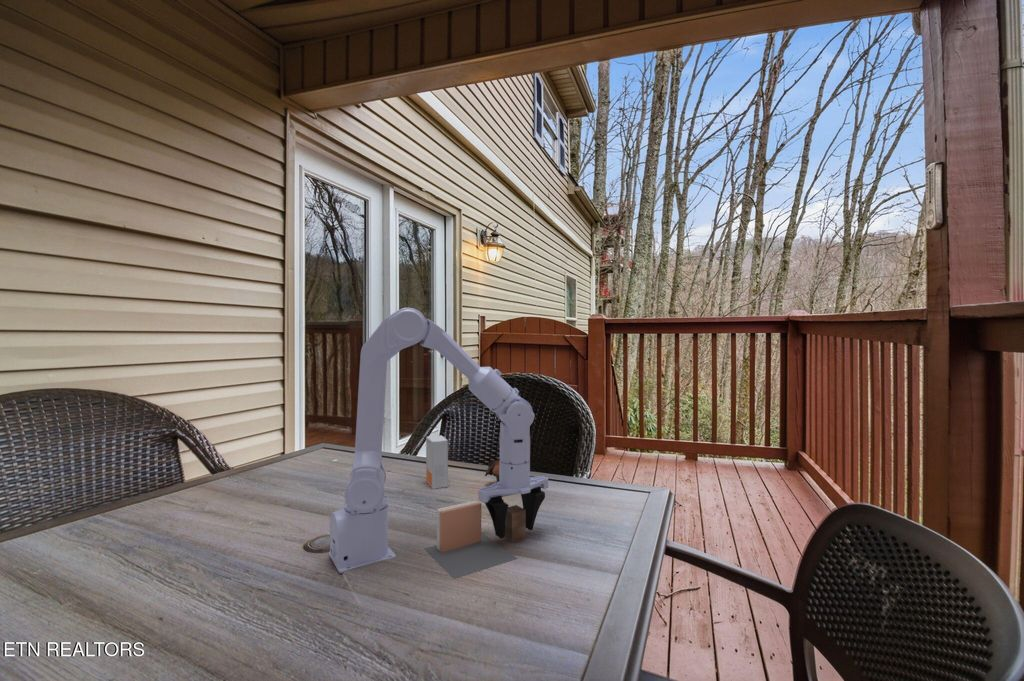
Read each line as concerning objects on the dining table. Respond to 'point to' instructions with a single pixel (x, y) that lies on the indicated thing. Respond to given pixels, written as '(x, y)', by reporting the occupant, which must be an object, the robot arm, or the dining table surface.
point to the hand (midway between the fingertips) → (514, 532)
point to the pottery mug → (493, 469)
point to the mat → (471, 557)
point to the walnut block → (515, 524)
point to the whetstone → (458, 525)
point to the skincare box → (437, 461)
